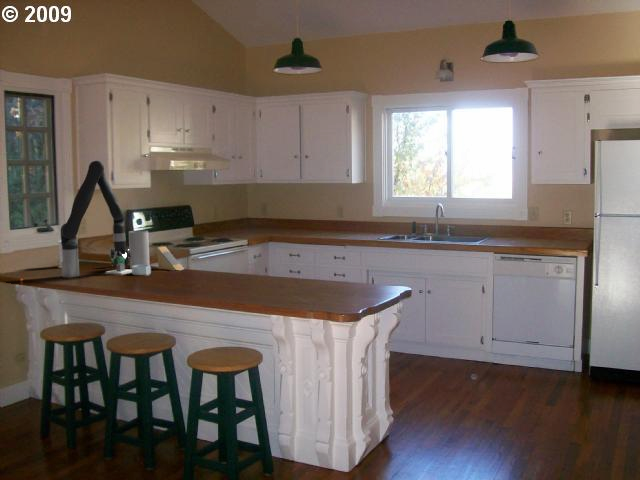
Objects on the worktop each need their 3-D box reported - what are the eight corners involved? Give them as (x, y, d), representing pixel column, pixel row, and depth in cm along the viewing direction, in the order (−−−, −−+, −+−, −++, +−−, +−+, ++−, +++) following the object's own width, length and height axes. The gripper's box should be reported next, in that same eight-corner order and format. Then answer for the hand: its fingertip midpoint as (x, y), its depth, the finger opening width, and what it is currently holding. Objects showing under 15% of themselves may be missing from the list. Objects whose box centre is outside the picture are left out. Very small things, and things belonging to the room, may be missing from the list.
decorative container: (63, 265, 472) (62, 239, 470) (79, 265, 471) (78, 239, 469) (55, 268, 461) (53, 241, 459) (71, 268, 460) (70, 241, 458)
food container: (109, 268, 458) (108, 253, 457) (109, 267, 464) (109, 252, 463) (128, 267, 461) (127, 252, 460) (128, 266, 467) (127, 251, 466)
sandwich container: (177, 271, 443) (176, 248, 441) (157, 269, 449) (157, 247, 447) (184, 269, 450) (184, 246, 449) (166, 268, 457) (165, 245, 455)
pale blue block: (142, 276, 422) (142, 267, 421) (128, 275, 427) (128, 266, 426) (154, 273, 432) (154, 265, 431) (140, 272, 437) (140, 264, 436)
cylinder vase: (143, 267, 462) (141, 230, 459) (153, 268, 453) (151, 231, 450) (126, 269, 453) (125, 231, 450) (136, 271, 444) (135, 232, 442)
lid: (121, 274, 427) (121, 265, 426) (105, 273, 433) (105, 264, 432) (135, 271, 439) (135, 262, 438) (120, 270, 444) (119, 261, 444)
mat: (121, 275, 425) (121, 274, 425) (102, 274, 432) (102, 273, 432) (139, 272, 439) (139, 271, 439) (120, 270, 446) (120, 269, 446)
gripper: (106, 240, 433) (108, 265, 435) (124, 241, 427) (125, 266, 429) (115, 239, 440) (116, 264, 442) (132, 239, 434) (133, 265, 436)
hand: (121, 265), depth 436 cm, fingers open, 8 cm apart
